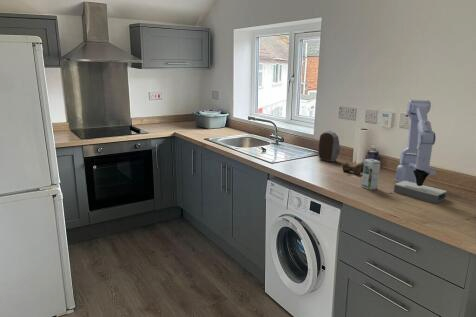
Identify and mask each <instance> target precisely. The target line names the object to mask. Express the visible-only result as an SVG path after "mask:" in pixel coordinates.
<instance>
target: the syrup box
mask: <svg viewBox="0 0 476 317" xmlns="http://www.w3.org/2000/svg"><path fill="white" fill-rule="evenodd" d="M363 162H364V168H363V170H362V178H361V183H360V184H361V188H364V189H367V190H369V191H370V190H376V189H378V183H379V176H380V169H381V163H382V162H381V160H376V159H373V158H366V159H364V161H363Z"/></svg>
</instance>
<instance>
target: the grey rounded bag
mask: <svg viewBox="0 0 476 317" xmlns="http://www.w3.org/2000/svg"><path fill="white" fill-rule="evenodd" d="M340 150H341V148H340V140H339V136H338V135H337V133H336V132H334V131H331V130H326V131H324V132H323V133H321V134H320V136H319V139H318V149H317V152H318V158H319V159H320V160H323V161H325V160H326V162H336V161H337V159H338V157H339V156H340V153H341V151H340Z"/></svg>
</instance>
